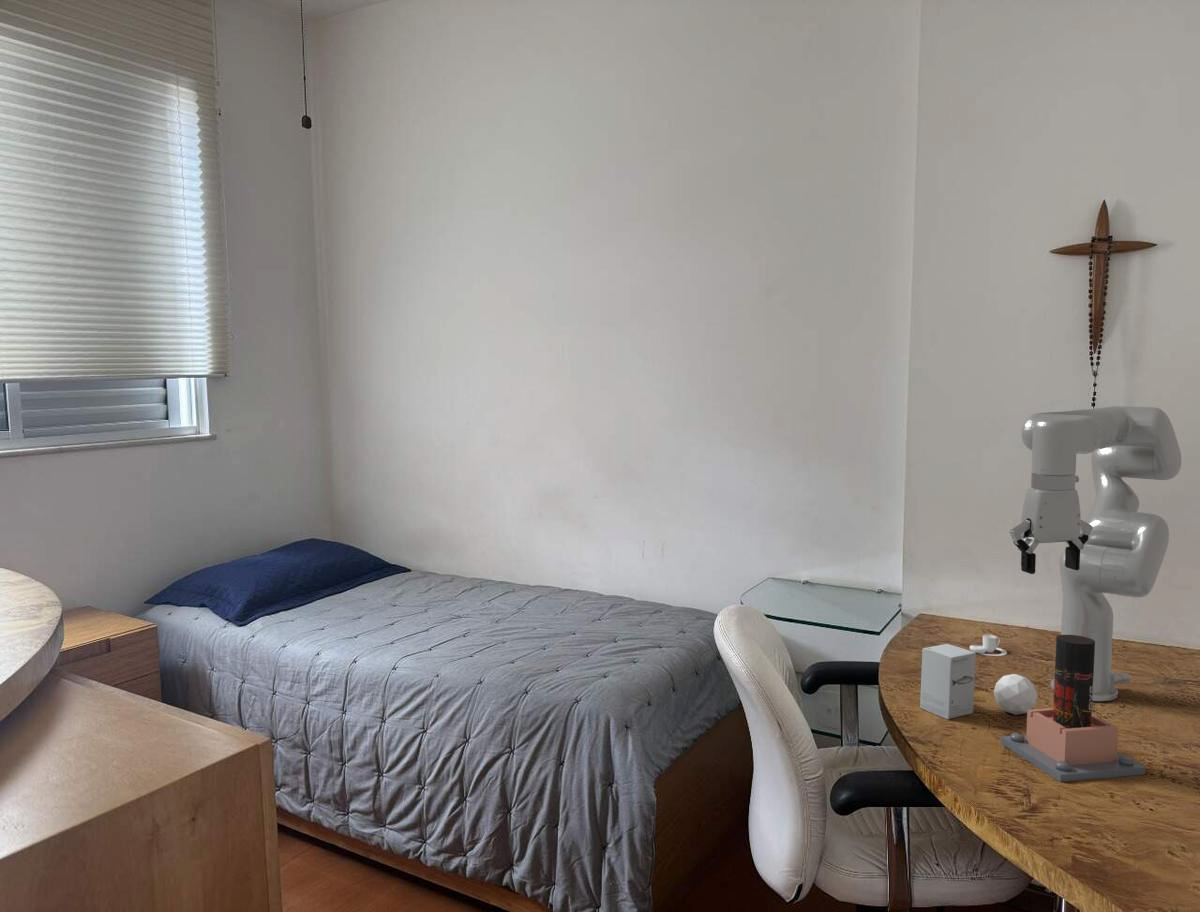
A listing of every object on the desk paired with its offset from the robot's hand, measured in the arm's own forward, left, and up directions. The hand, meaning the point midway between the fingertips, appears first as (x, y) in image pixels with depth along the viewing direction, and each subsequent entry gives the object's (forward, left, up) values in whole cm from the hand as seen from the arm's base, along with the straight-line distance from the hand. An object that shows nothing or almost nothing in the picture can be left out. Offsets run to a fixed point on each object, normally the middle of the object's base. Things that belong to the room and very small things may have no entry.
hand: (1050, 570), depth 171 cm
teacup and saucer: (-14, -44, -30) cm, 55 cm away
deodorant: (+7, +17, -24) cm, 30 cm away
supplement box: (+16, -7, -30) cm, 35 cm away
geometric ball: (+3, -4, -30) cm, 30 cm away
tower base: (+7, +17, -30) cm, 35 cm away
